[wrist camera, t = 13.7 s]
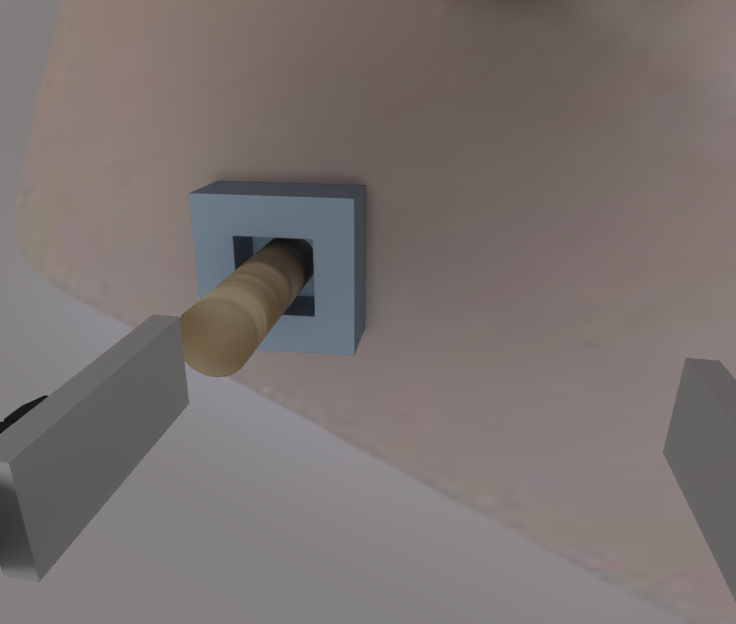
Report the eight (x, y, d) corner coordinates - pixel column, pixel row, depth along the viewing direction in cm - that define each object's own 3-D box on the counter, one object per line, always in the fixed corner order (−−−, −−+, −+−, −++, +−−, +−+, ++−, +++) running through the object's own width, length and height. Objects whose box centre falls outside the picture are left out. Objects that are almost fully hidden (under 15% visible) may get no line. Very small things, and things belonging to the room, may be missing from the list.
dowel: (262, 232, 44) (170, 302, 30) (315, 235, 43) (247, 307, 30) (265, 284, 45) (178, 374, 32) (317, 287, 45) (251, 379, 31)
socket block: (217, 181, 44) (189, 193, 39) (365, 185, 43) (354, 198, 38) (229, 319, 48) (204, 345, 44) (364, 328, 47) (354, 355, 42)
